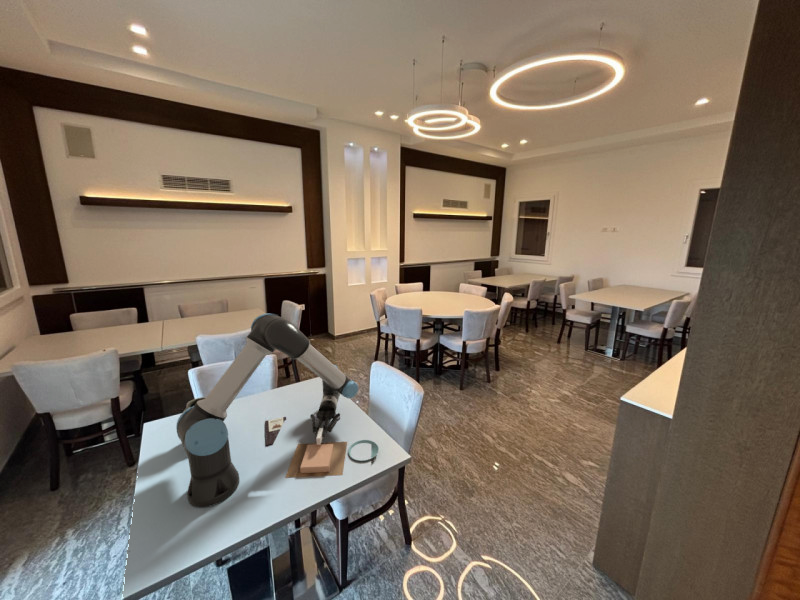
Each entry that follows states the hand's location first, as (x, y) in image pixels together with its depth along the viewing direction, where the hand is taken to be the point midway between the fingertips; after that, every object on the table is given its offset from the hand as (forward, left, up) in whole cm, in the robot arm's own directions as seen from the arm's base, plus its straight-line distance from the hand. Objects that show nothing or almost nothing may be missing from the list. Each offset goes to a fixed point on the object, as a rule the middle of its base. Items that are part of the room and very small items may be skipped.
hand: (318, 441), depth 119 cm
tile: (0, +3, -5) cm, 6 cm away
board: (0, -1, -8) cm, 8 cm away
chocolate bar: (-22, +18, -8) cm, 30 cm away
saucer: (+17, +1, -8) cm, 19 cm away
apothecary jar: (-50, +14, -8) cm, 52 cm away
